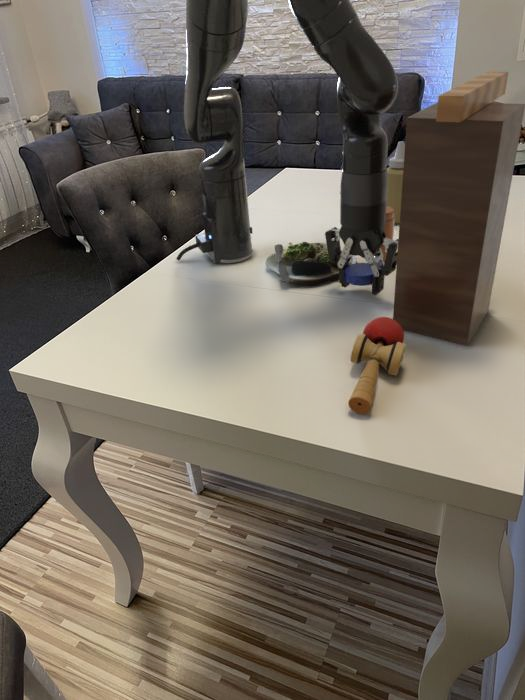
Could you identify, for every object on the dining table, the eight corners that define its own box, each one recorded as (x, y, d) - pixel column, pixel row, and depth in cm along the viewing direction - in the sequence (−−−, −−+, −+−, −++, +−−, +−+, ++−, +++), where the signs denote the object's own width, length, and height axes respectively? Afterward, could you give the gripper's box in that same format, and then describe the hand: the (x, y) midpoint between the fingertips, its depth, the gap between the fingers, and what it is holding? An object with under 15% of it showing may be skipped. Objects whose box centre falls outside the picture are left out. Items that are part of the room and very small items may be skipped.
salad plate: (244, 262, 114) (242, 241, 111) (313, 241, 121) (313, 222, 118) (292, 295, 99) (291, 272, 97) (368, 270, 106) (369, 248, 104)
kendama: (395, 427, 69) (416, 340, 81) (387, 391, 65) (410, 306, 78) (337, 423, 72) (366, 340, 85) (327, 389, 69) (358, 308, 81)
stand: (467, 345, 81) (503, 120, 64) (392, 327, 87) (406, 117, 70) (488, 311, 89) (525, 103, 72) (418, 297, 95) (437, 102, 78)
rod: (460, 122, 65) (463, 95, 63) (435, 121, 66) (438, 95, 65) (505, 94, 80) (508, 71, 78) (484, 93, 81) (487, 71, 80)
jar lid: (355, 269, 99) (355, 260, 98) (383, 276, 96) (383, 266, 95) (338, 281, 96) (339, 271, 94) (367, 288, 92) (367, 278, 91)
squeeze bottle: (416, 224, 125) (423, 144, 115) (381, 227, 126) (386, 147, 116) (409, 213, 132) (415, 136, 122) (376, 215, 132) (379, 139, 123)
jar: (375, 263, 109) (377, 215, 103) (362, 255, 113) (364, 208, 107) (396, 258, 110) (400, 210, 104) (383, 250, 114) (386, 204, 108)
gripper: (414, 196, 86) (406, 290, 95) (338, 185, 94) (337, 273, 103) (392, 210, 81) (386, 307, 90) (314, 197, 89) (316, 288, 98)
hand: (360, 289), depth 97 cm, fingers closed on jar lid, 5 cm apart
